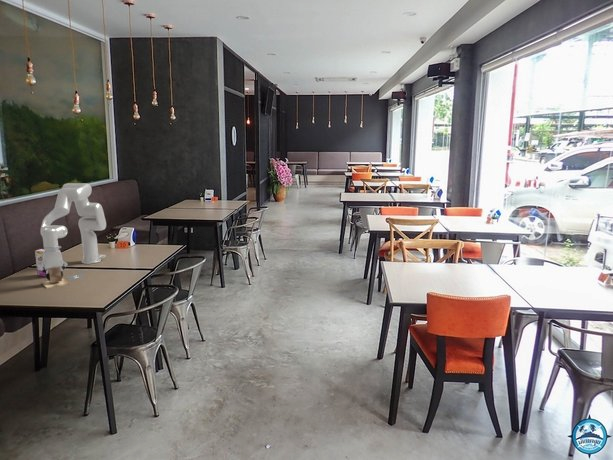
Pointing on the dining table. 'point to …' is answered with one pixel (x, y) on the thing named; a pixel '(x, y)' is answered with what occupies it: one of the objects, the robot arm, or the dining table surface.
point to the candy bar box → (39, 261)
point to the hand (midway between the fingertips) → (54, 278)
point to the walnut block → (55, 275)
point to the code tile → (75, 276)
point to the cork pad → (55, 283)
